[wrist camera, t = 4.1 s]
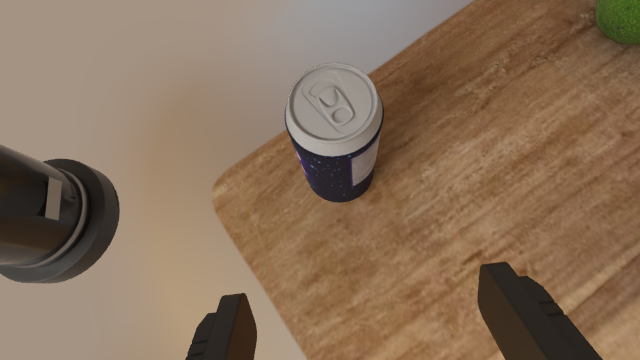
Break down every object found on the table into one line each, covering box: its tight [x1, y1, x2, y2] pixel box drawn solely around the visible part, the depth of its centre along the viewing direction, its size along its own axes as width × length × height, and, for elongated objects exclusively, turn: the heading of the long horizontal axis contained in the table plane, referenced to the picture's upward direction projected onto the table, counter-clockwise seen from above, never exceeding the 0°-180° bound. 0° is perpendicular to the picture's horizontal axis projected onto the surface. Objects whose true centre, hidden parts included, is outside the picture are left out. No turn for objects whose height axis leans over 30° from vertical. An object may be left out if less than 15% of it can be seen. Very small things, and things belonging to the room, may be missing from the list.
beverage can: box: [285, 63, 384, 202], centre depth 24 cm, size 6×6×12 cm
